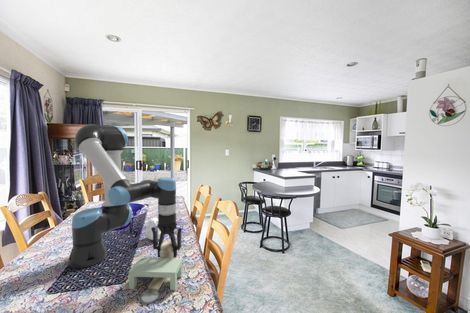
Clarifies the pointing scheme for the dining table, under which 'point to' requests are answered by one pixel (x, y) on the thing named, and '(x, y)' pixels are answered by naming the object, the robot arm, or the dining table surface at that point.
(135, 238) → the dining table surface
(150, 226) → the figurine
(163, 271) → the footstool
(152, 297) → the token
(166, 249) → the pusher
